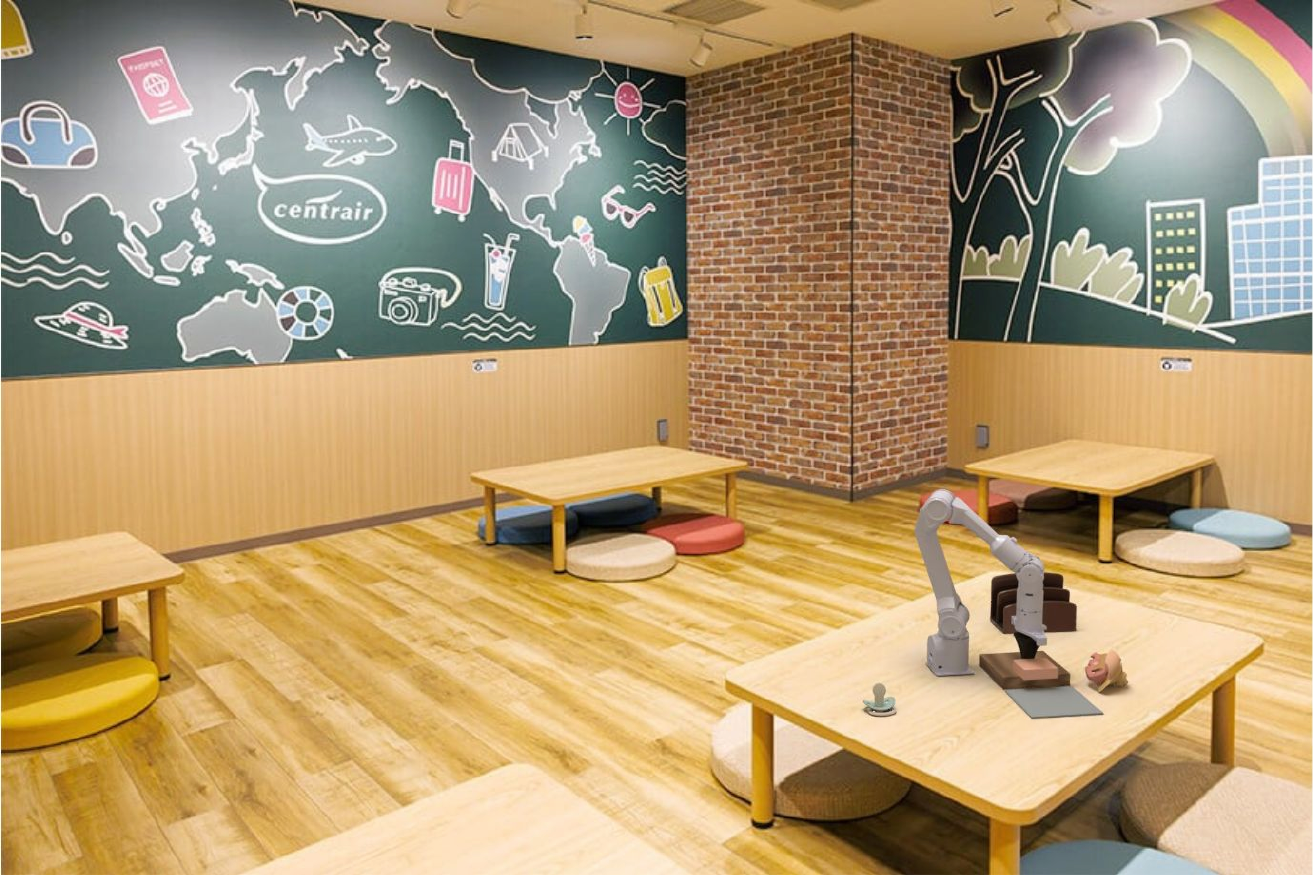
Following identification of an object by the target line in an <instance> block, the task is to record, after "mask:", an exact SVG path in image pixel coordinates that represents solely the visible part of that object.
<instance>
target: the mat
mask: <svg viewBox="0 0 1313 875" xmlns="http://www.w3.org/2000/svg"><path fill="white" fill-rule="evenodd" d="M1004 692H1005V694H1007V695H1008V697H1010V699H1012V701H1013V702H1014V703H1016V705H1017V706H1019V708H1020V709H1021V710H1022V711H1023V712H1024V713H1025V714H1027V716H1028V717H1029V718H1030V719H1032V720H1037V719H1038V720H1039V719H1054V718H1065V717H1066V718H1068V717H1069V718H1071V717H1082V716H1083V717H1086V716H1088V717H1090V716H1103V715H1104V712H1103V711H1102V710H1100V708H1098V706H1096V705H1095V704H1094V703H1092V701H1090V700H1089V699H1088V698H1087V697H1086V696H1084V695H1083V693H1081V692H1080V691H1079V690H1077V689H1076V688H1075V687H1074V686H1072V685H1070V686H1059V687H1042V688H1025V689H1008V690H1004Z"/></svg>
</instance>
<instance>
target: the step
mask: <svg viewBox="0 0 1313 875" xmlns="http://www.w3.org/2000/svg"><path fill="white" fill-rule="evenodd" d="M1037 658H1047V659H1048V660H1049V661H1050V662H1051V663H1053V664H1054V665H1055V666H1056V667H1057V668H1058V678H1057V679H1040V680H1023V679H1022V678H1021V677H1020V676H1019V675H1018V674H1016V673H1015V672H1014V671H1013V660H1020V659H1021V655H1020V651H1015V652H996V653H994V652H993V653H979V658H978V659H979V660H978V665H979V667H980V668H981V669H982V670H983V671H984V673H986V675H988V676H989V677H990V679H992V680H993V682H994V683H995V684H997V686H999V687H1000V688H1001V689H1002V690H1003V691H1005V690H1013V689H1030V688H1047V687H1064V686H1071V673H1070V672H1069V671H1068V670H1067V669H1066V668H1064V666H1062V665H1061V664H1060V663H1058V662H1057V661H1056V660H1055V659H1053V658H1052V656H1050V655H1049V654H1047V653H1046V651H1044V650H1037V653H1036V656H1035V659H1037Z"/></svg>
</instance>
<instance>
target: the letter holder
mask: <svg viewBox="0 0 1313 875" xmlns="http://www.w3.org/2000/svg"><path fill="white" fill-rule="evenodd" d="M1042 583H1043V612H1042V624H1044V625H1045V626H1046V627H1047V629H1046V630H1044V633H1063V632H1065V633H1066V632H1077V620H1078V618H1077V617H1078V614H1077V613H1078V606H1077V604H1076V603H1074V602H1070V599H1071V598H1070V597H1071V592H1070V590H1069V589H1067V588H1064V576H1063V574H1060V573H1058V572H1057V573H1056V572H1045V571H1044V579H1043V582H1042ZM1018 585H1019V581H1018V579H1017V576H1016V573H1015V572H1012V573H1006V574H999V575H995V576H993V577H992V579H991V584H990V612H989V613H990V615H989V621H990V622H991V624H992V625H994V627H996V629H997V630H999V632H1000V633H1001V634H1003V635H1008V634H1009V635H1010V634H1011V635H1012V634H1013V635H1014V633H1015V632H1018V631H1017V630H1016V629H1015V626H1014V625H1013V624H1012V616H1016V611H1017V589H1018Z"/></svg>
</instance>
